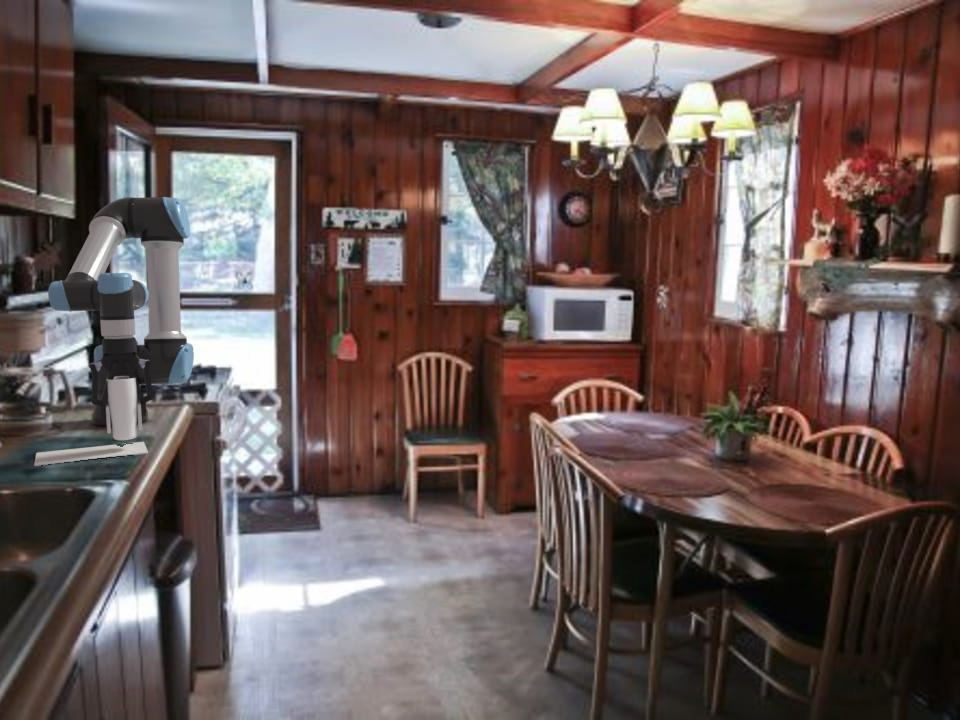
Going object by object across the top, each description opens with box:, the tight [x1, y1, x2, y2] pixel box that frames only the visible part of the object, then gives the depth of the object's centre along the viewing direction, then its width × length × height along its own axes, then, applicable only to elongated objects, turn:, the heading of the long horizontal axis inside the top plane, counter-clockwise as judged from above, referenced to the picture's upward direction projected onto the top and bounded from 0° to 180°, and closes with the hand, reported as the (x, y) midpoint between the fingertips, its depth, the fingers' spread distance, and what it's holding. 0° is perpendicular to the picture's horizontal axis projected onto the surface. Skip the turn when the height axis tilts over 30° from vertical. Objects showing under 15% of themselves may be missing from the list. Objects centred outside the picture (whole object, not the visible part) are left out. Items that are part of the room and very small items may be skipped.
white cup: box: [106, 376, 138, 441], centre depth 192 cm, size 7×7×15 cm
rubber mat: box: [33, 441, 149, 467], centre depth 190 cm, size 24×13×1 cm, turn 117°
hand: (124, 430), depth 193 cm, fingers closed on white cup, 6 cm apart
